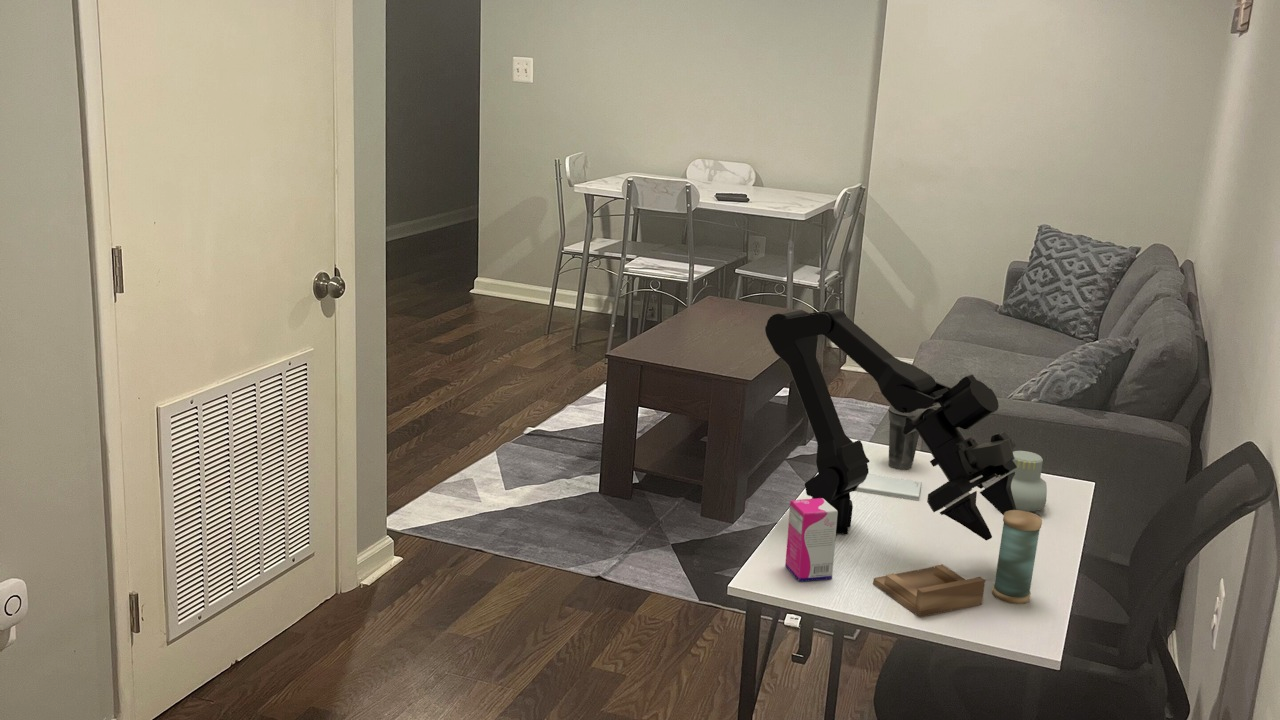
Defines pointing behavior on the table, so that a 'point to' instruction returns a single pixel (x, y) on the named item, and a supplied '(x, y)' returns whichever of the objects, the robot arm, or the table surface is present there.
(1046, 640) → the table surface
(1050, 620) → the table surface
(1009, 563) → the oak spool
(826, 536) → the supplement box
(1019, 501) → the air freshener
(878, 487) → the hard drive
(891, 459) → the beverage cup
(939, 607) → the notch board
